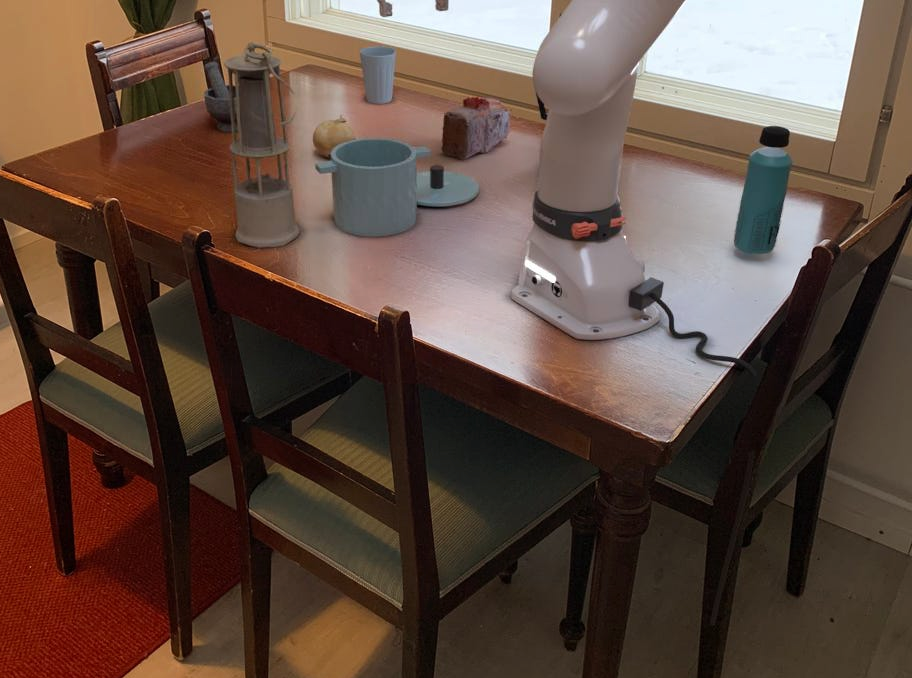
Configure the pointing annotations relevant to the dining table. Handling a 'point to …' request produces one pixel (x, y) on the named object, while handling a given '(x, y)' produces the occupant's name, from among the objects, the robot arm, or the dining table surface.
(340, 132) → the onion
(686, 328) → the dining table surface
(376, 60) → the cup
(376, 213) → the pot
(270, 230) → the lamp
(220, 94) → the mortar and pestle
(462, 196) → the pot lid
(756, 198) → the beverage bottle
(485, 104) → the food item
